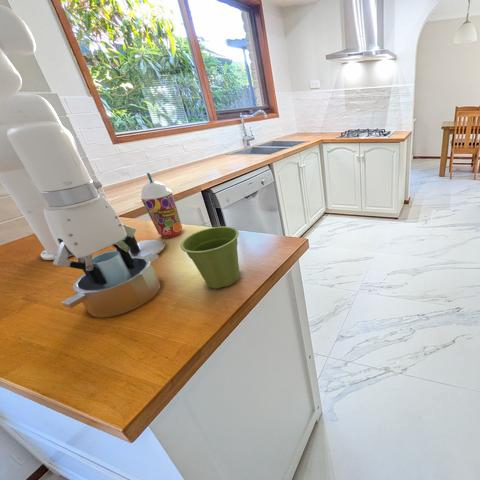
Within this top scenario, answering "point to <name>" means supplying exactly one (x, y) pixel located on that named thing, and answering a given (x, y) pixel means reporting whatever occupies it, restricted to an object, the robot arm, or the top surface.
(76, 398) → the top surface
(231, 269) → the plant pot
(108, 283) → the measuring cup
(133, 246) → the lid
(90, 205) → the robot arm
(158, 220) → the smoothie
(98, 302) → the silver cooking pot
